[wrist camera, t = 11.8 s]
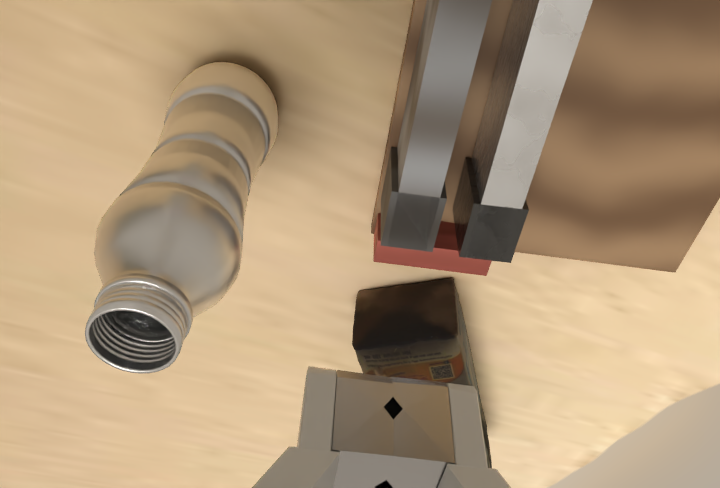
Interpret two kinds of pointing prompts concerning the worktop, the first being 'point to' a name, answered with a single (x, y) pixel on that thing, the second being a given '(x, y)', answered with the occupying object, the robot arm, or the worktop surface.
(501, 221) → the jaw
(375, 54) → the worktop surface
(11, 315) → the worktop surface
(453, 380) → the beverage carton
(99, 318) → the plastic bottle
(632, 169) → the tongs base
